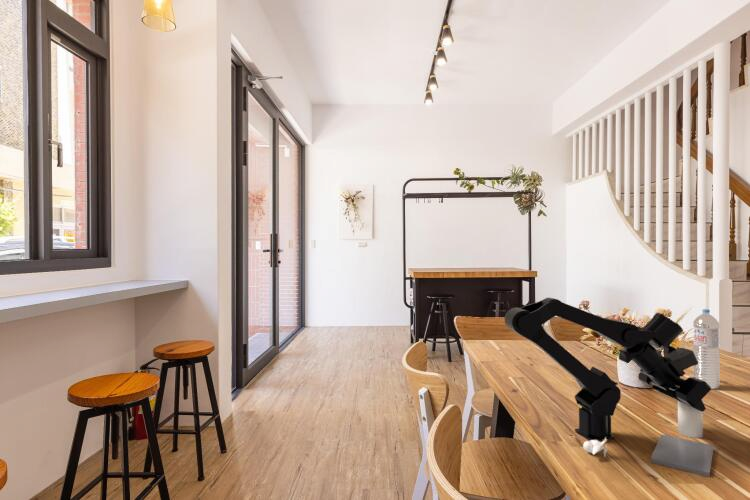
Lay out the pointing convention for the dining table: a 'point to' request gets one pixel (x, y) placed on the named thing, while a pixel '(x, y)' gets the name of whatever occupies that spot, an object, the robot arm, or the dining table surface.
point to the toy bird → (595, 446)
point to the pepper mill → (690, 421)
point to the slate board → (683, 454)
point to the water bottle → (707, 349)
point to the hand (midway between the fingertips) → (695, 406)
